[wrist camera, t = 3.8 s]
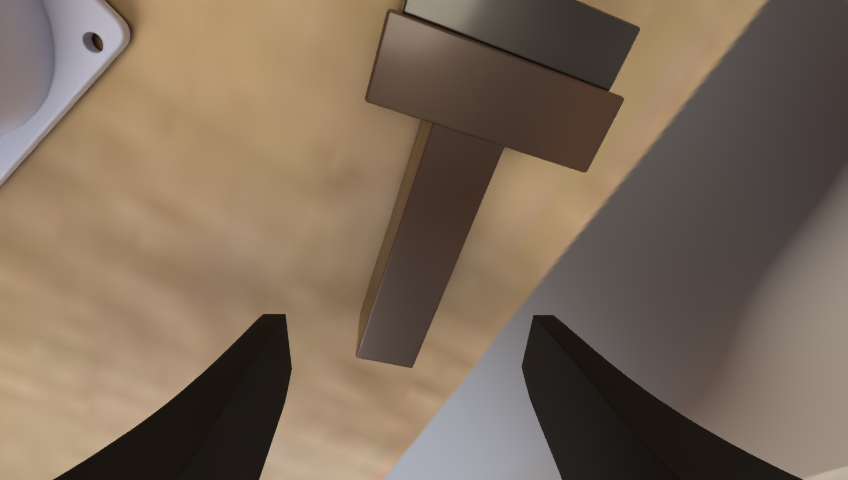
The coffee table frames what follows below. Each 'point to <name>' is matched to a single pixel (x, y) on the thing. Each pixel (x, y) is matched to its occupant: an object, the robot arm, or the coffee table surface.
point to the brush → (477, 131)
